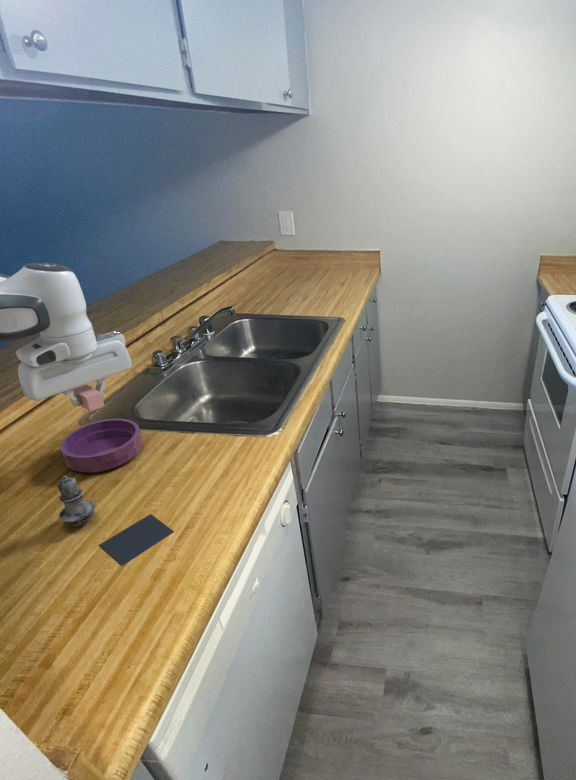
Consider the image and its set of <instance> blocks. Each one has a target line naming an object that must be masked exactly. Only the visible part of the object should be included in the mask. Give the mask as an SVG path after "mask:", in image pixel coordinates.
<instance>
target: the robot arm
mask: <svg viewBox="0 0 576 780" xmlns="http://www.w3.org/2000/svg"><path fill="white" fill-rule="evenodd" d="M78 279H79V278H78V277H77V275H76V274H75V272H74V271H73V270H72V269H70V268H69V267H67V266H65V265H63V264H59V263H55V262H46V261H45V262H43V261H42V262H41V261H37V262H29V263H26V264H24V265H23V266H22V268H20V269H19V270H18V271H16V272H15V273H14V274H13V275H11V276H10V275H8V274H5V273H0V342H5V343H7V342H13V341H17V340H21V339H24V338H28V337H31V336H35V335H37V334H38V333H39V335H40V336H38V337H37V338H35V339H34V340H32V341H30V342H28V343H26V344H25V345H23V346H21V347H19V348H18V349H17V350H16V351H15V355H16V357H17V358H18V360H20V363H19V365H18V367H17V368H18V369H17V375H18V380H19V384H20V388H21V392H22V393H23V395H24V396H25V397H26V398H28V399H29V400H32V401H35V402H38V401H42V400H45V399H48V398H50V397H53V396H56V395H60V394H63V395H64V396H66V397H67V398H69V399H70V402H71V404H72V406H73V407H75V408H77V407H81V406H80V405H82V404H83V402H82V399H81V397H79V396H74V394H73V393H74V392H73V389H74V388H77V387H80V386H83V385H86V384H87V385H88V384H91V383H94V382H95V383H96V384H95V387H94V389H96V390H97V391H99V392H101V396H102V398H104V397H105V393H104V389H105V386H106V383H107V380H106V378H109V377H112V376H114V375H117V374H120V373H123V372H125V371H129V370H131V367H132V365H133V362H132V359H131V356H130V353H129V352H128V350H127V347H126V338H125V336H124V334H123V333H122V332H119V331H115V330H110V331H108V332H105V333H99V334H95V331H94V328H93V324H92V322H91V320H90V319H89V317H88V314H87V302H86V299H85V296H84V292H83V290H82V286H81V285H80V281H79V280H78Z"/></svg>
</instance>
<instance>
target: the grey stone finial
mask: <svg viewBox="0 0 576 780" xmlns="http://www.w3.org/2000/svg"><path fill="white" fill-rule="evenodd" d="M57 488H58V491H59V494H60V496H59V500H60V501H61V502H63V505H64V507H63V508H62V509H61V510H60V511H59V513H58V519H59V520H60V521H61V522H63V523H64V524H65V525H67V526H69V527H83V526H85V525H86V524H88V522H89V521H90V520H92V519H93V517H94V515H95V510H96V503H95V501H93V500H91V499H84V497H83V494H84V491H83V489H81V488H80V487H79V484H78V482H77V479H76V478H75V477H72V476H67V475H65V474H64V475H62V478H61V479H60V480H59V481H58V483H57Z"/></svg>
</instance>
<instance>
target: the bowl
mask: <svg viewBox="0 0 576 780" xmlns="http://www.w3.org/2000/svg"><path fill="white" fill-rule="evenodd" d="M139 426H140V425H138V423H136V422H135V421H133V420H131V419H126V418H108V419H100V420H96V421H93V422H90V423H87V424H85V425H82V426H79V427H78V428H76V429H74V430H72V431H71V432H69V433H68V434H66V436H65V437H64V438H63V439H62V440H61V442H60V444H59V448H60V449H59V450H60V453H61V455H62V458H63V460H64V463H65V466H66V467H67V468H68V469H70V470H71V471H75V472H78V473H89V474H93V473H95V474H96V473H101V472H107V471H110V470H114V469H116V468H119V467H121V466H123V465H125V464H126V463H128V462H130V461H131V460H132V459H134V458H135V457H136V456H137V455H138V454H139V453H140V452H141V450H142V449H143V446H144V439H143V436H142V433H141V432H142V431H141V429H140V427H139Z"/></svg>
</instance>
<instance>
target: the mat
mask: <svg viewBox="0 0 576 780" xmlns="http://www.w3.org/2000/svg"><path fill="white" fill-rule="evenodd" d="M173 533H175V531H174V530H173V529H172V528H171V527H169V526H168V525H166V524H165V523H163V521H161V520H159V518H157V517H156V516H154V515H153V514H152V513H150V514H148V515H146V516H145V517H143V518H141V519H139V520H138V521H136V522H135V523H133V524H131V525H130V526H128V527H126V528H124V529H123V530H121V531H119V532H118V533H115V535H113V536H112V537H109V538H108V539H107V540H105V541H103V542H101V543H100V544H98V547H99V548H100V549H101V550H102V551H104V552H105V553H106V554H107V555H108V556H109V557H110V558H112V559H113V560H114V561H115V562H116V563H117V564H118V565H119V566H120V567H123V566H124V565H127V564H128V563H130V562H131V561H133V560H134V559H135V558H137V557H138V556H141V554H143V553H144V552H146V551H147V550H149V549H151V548H152V547H153V546H155V545H157V544H158V543H159V542H161V541H163V540H165V539H166V538H167V537H169V536H171V535H172V534H173Z"/></svg>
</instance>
